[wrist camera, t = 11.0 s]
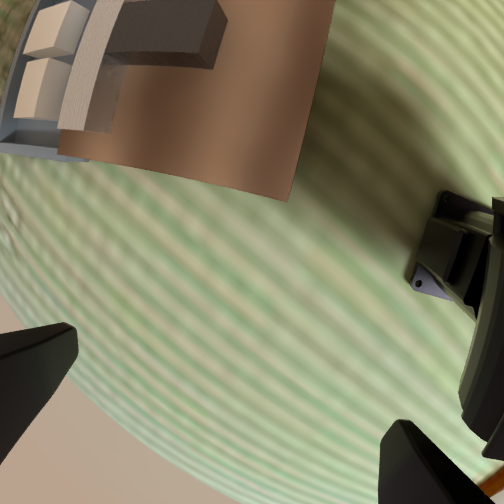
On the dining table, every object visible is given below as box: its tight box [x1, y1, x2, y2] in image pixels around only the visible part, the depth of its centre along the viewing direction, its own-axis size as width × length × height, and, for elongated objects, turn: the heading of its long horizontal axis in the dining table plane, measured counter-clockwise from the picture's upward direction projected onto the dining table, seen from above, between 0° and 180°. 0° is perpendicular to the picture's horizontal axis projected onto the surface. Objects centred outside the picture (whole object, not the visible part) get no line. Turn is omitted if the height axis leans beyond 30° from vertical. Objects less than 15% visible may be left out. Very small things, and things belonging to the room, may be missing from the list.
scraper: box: [57, 0, 228, 134], centre depth 11 cm, size 2×11×7 cm
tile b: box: [13, 58, 73, 121], centre depth 15 cm, size 4×4×2 cm
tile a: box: [23, 0, 90, 59], centre depth 14 cm, size 4×4×2 cm
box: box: [0, 0, 97, 162], centre depth 15 cm, size 10×15×2 cm, turn 167°
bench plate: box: [57, 0, 335, 202], centre depth 14 cm, size 14×14×4 cm
